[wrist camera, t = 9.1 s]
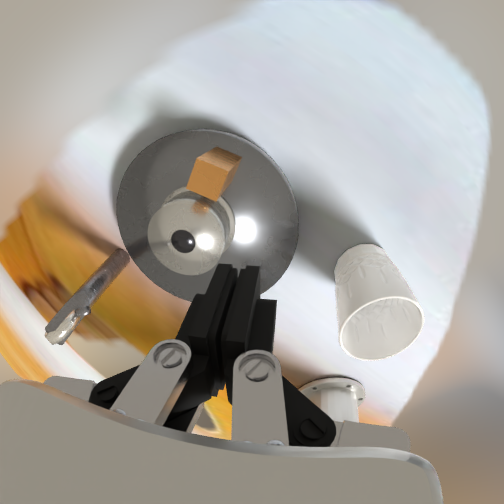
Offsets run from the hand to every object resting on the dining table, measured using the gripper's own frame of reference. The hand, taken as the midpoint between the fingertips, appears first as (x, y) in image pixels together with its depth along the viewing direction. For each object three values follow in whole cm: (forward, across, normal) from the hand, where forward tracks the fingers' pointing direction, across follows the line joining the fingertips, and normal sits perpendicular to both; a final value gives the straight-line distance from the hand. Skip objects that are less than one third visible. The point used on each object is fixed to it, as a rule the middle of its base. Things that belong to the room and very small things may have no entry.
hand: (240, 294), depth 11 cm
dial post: (+18, +19, +10) cm, 28 cm away
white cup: (+18, -11, +10) cm, 23 cm away
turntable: (+18, +7, +4) cm, 19 cm away
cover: (+15, +7, +4) cm, 17 cm away
